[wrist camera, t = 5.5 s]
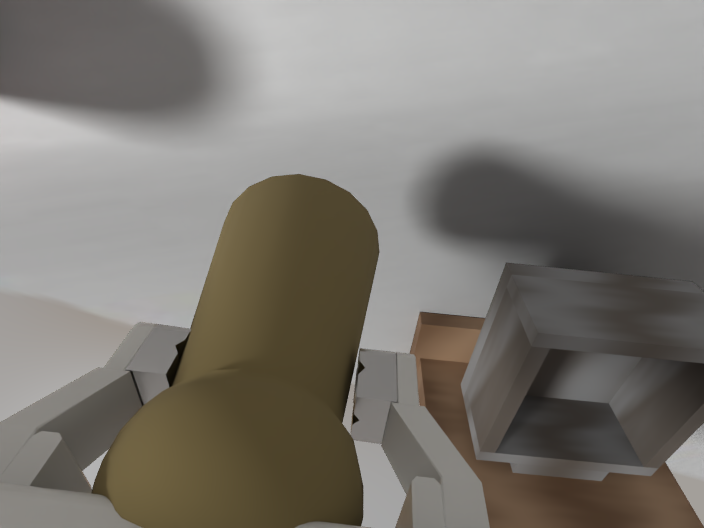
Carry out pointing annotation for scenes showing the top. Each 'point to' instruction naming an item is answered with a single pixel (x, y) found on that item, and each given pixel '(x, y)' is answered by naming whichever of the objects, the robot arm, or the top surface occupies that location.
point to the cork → (259, 375)
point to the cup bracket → (571, 395)
